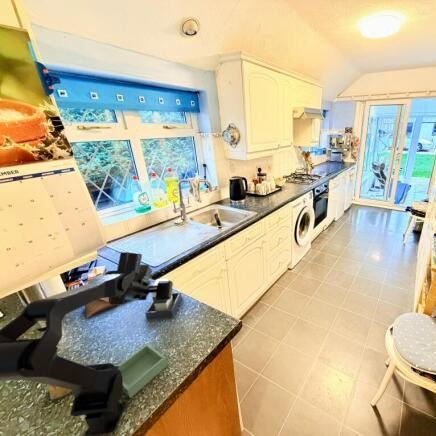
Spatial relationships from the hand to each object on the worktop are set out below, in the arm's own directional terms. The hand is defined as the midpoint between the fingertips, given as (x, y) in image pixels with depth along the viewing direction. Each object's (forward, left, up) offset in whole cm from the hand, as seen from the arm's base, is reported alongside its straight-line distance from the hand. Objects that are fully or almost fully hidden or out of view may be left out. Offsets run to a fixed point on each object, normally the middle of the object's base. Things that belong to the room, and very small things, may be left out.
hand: (152, 294), depth 86 cm
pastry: (-22, +17, -13) cm, 31 cm away
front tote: (-21, -2, -12) cm, 25 cm away
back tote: (+6, 0, -12) cm, 14 cm away
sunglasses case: (+13, +23, -13) cm, 29 cm away
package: (+6, 0, -12) cm, 13 cm away
